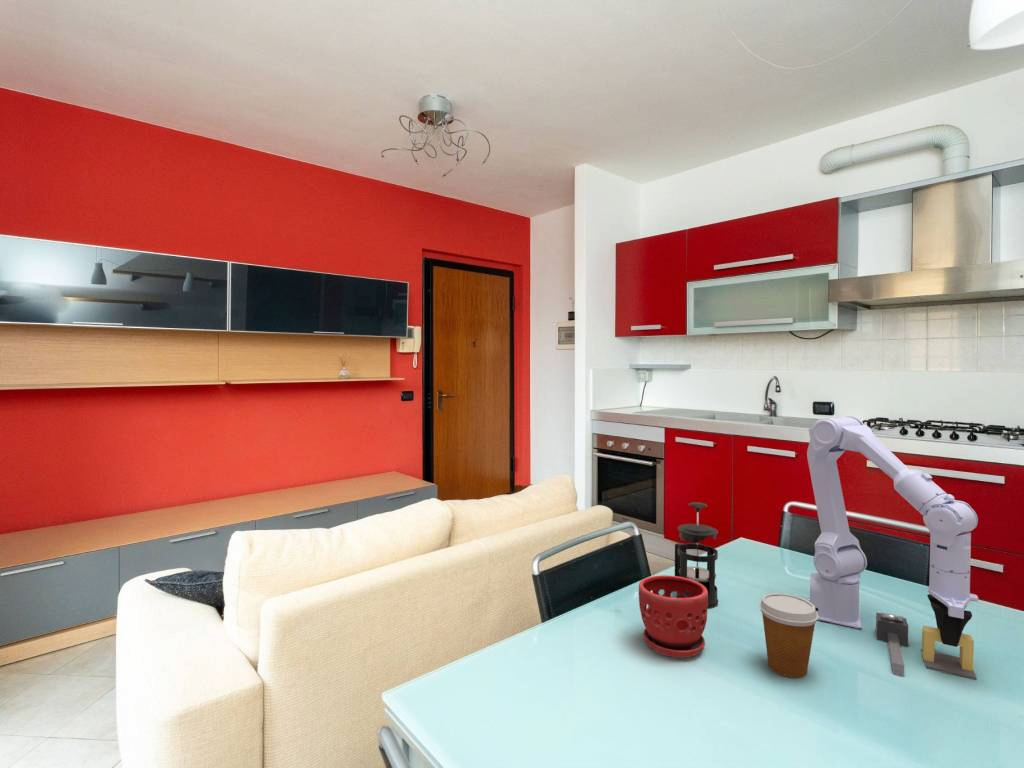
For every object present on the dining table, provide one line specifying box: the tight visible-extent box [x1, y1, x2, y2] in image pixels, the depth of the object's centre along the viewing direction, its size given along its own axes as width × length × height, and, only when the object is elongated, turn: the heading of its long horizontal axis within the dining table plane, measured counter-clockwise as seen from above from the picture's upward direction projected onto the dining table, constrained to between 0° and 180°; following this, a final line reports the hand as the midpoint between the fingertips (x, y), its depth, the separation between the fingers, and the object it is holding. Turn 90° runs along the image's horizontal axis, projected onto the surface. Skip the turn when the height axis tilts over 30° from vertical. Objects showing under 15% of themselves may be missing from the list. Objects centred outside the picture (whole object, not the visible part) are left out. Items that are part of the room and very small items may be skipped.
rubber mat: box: [920, 648, 978, 681], centre depth 97 cm, size 7×7×1 cm
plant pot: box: [638, 574, 708, 658], centre depth 104 cm, size 13×13×12 cm
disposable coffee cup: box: [758, 592, 818, 679], centre depth 96 cm, size 10×10×12 cm
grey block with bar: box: [875, 612, 909, 677], centre depth 101 cm, size 5×17×5 cm, turn 148°
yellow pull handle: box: [921, 624, 975, 671], centre depth 97 cm, size 7×2×6 cm, turn 58°
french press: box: [674, 501, 719, 610], centre depth 124 cm, size 12×9×23 cm
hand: (948, 641), depth 97 cm, fingers closed on yellow pull handle, 2 cm apart
